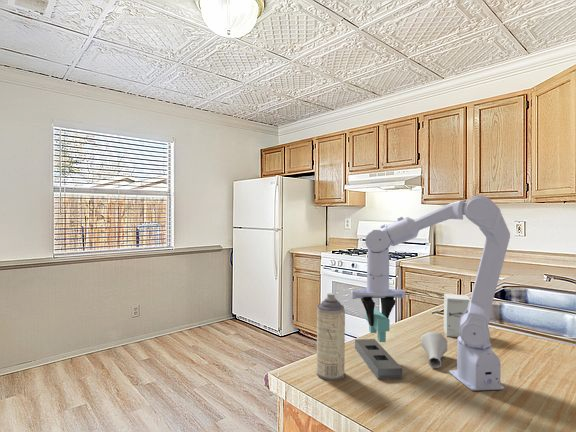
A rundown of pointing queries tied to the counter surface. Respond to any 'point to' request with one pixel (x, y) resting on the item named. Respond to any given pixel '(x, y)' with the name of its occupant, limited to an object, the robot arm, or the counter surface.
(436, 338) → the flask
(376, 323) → the clip
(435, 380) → the counter surface
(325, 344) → the aerosol can
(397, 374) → the rail
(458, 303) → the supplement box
